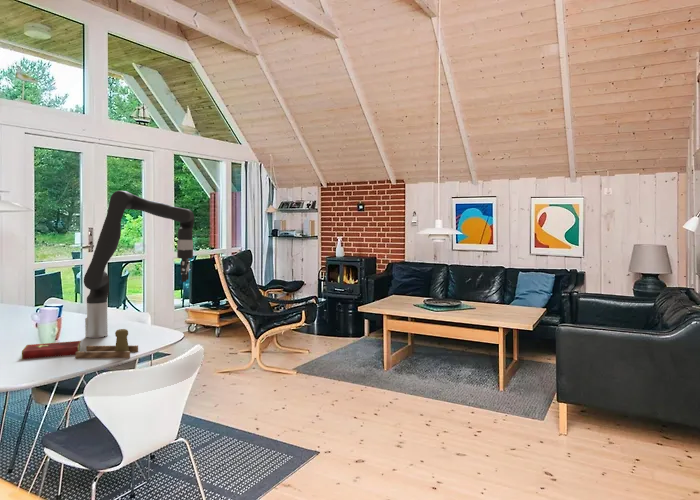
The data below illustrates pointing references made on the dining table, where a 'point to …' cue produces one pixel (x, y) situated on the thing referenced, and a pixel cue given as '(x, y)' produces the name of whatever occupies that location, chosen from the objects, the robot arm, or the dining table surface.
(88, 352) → the brown flat piece
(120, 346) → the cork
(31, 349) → the hardcover book
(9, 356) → the dining table surface
